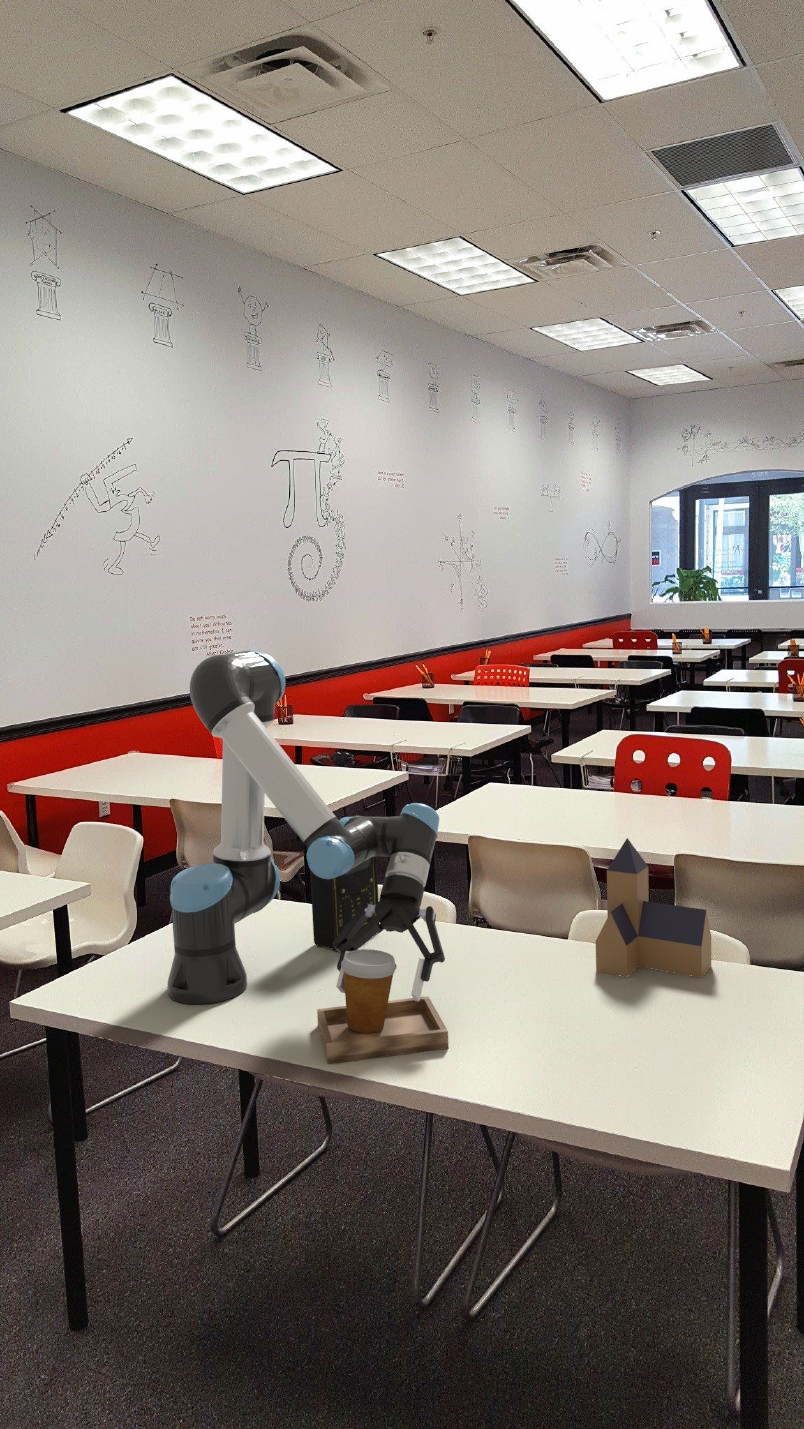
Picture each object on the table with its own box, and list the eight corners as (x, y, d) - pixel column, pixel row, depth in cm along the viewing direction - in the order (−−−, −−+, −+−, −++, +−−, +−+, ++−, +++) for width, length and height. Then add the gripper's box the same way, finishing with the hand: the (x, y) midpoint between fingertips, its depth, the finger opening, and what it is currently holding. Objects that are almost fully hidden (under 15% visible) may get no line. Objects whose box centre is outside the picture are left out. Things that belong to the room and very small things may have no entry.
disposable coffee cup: (404, 1026, 173) (408, 958, 172) (366, 1041, 165) (370, 970, 164) (364, 1010, 179) (368, 944, 178) (326, 1024, 172) (329, 956, 171)
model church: (619, 951, 206) (618, 832, 203) (711, 967, 196) (710, 842, 193) (596, 971, 196) (593, 846, 193) (691, 989, 185) (690, 857, 182)
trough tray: (327, 1063, 161) (326, 1046, 161) (317, 1025, 176) (317, 1009, 176) (448, 1048, 165) (447, 1031, 165) (429, 1012, 180) (428, 996, 179)
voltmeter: (338, 954, 211) (333, 838, 208) (308, 946, 216) (302, 833, 213) (384, 932, 223) (379, 822, 220) (354, 926, 228) (349, 818, 225)
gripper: (335, 868, 184) (303, 977, 172) (466, 877, 175) (442, 992, 163) (347, 888, 189) (317, 994, 177) (475, 897, 181) (452, 1010, 168)
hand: (377, 993), depth 170 cm, fingers open, 13 cm apart
